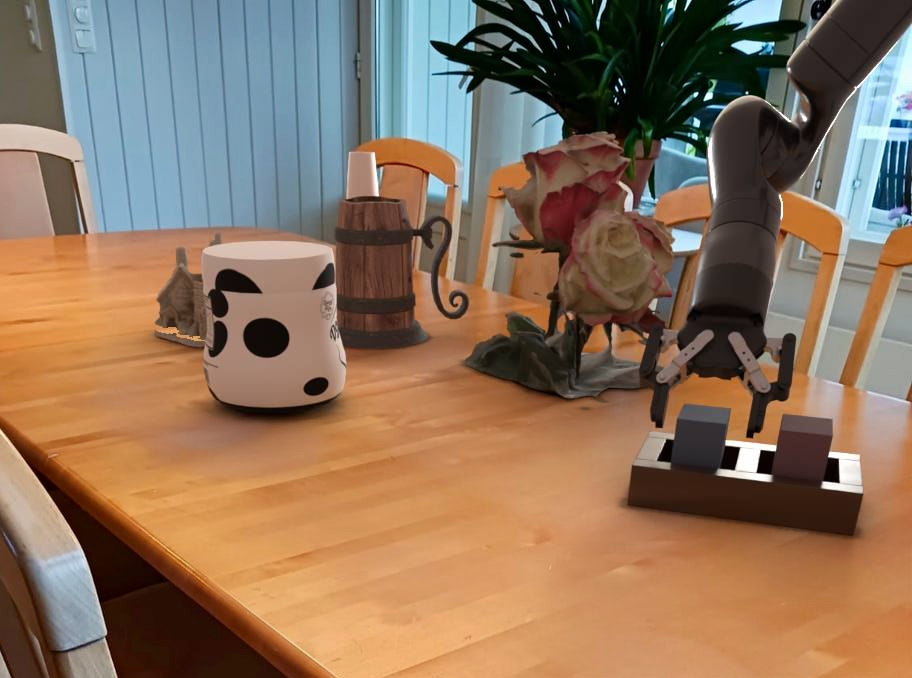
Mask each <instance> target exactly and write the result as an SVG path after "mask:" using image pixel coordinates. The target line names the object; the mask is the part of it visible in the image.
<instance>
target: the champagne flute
mask: <svg viewBox="0 0 912 678" xmlns="http://www.w3.org/2000/svg"><path fill="white" fill-rule="evenodd" d="M346 179H347V180H346V197H345V199H349V198H353V197H357V196H380V195H379V193H380V192H379V185H378V184H379V182H378V174H377V163H376V153H375V152H374V151H349V152H348V162H347V178H346Z"/></svg>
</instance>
